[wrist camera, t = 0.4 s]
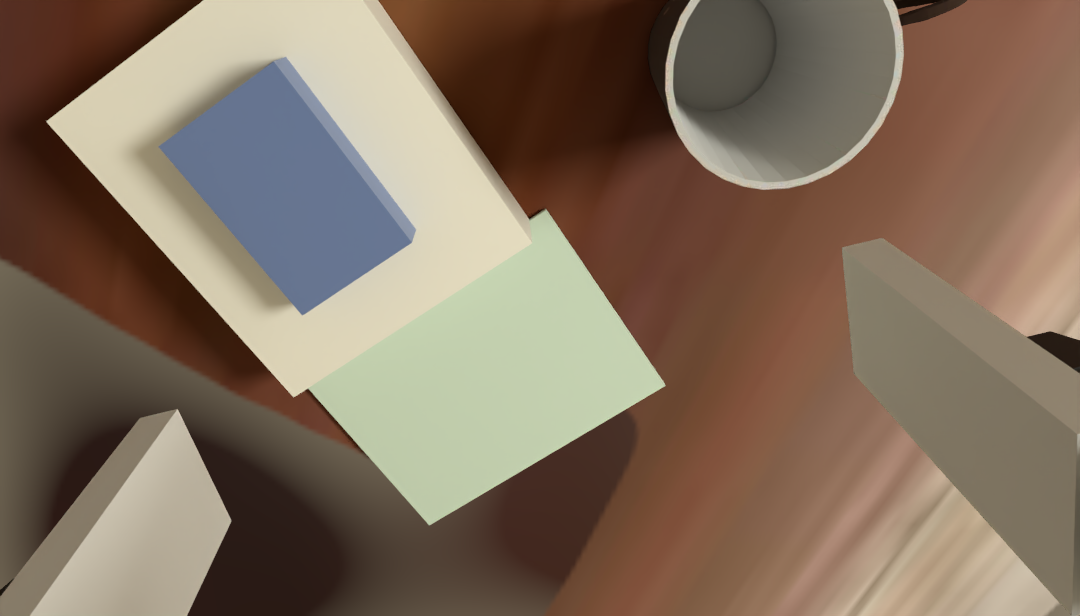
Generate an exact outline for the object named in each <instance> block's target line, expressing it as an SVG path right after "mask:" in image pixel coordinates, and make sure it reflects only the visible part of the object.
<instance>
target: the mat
mask: <svg viewBox="0 0 1080 616" xmlns="http://www.w3.org/2000/svg"><path fill="white" fill-rule="evenodd" d="M529 222H530V229H531V236H532V244H530V245H529V246H527V247H526V248H524V249H522V250H521V251H519V252H518V253H516V254H515V255H513V256H512V257H510V258H509V259H507V260H505V261H504V262H502V263H501V264H499V265H498V266H496V267H495V268H493V269H492V270H490V271H488V272H487V273H485V274H484V275H482V276H481V277H479V278H478V279H476V280H475V281H473V282H471V283H470V284H468V285H467V286H465V287H464V288H462V289H461V290H459V291H458V292H456V293H454V294H453V295H451V296H450V297H448V298H447V299H445V300H444V301H442V302H441V303H439V304H437V305H436V306H434V307H433V308H431V309H430V310H428V311H427V312H425V313H424V314H422V315H420V316H419V317H417V318H416V319H414V320H413V321H411V322H410V323H408V324H406V325H405V326H403V327H402V328H400V329H399V330H397V331H396V332H394V333H393V334H391V335H389V336H388V337H386V338H385V339H383V340H382V341H380V342H379V343H377V344H376V345H374V346H372V347H371V348H369V349H368V350H366V351H365V352H363V353H362V354H360V355H359V356H357V357H355V358H354V359H352V360H351V361H349V362H348V363H346V364H345V365H343V366H342V367H340V368H338V369H337V370H335V371H334V372H332V373H331V374H329V375H328V376H326V377H325V378H323V379H321V380H320V381H318V382H317V383H315V384H314V385H312V386H311V387H309V388H308V389H309V390H310V391H311V392H312V393H313V395H314V396H315V397H316V398H317V399H318V400H319V401H320V402H321V404H322V405H323V406H324V407H325V408H326V409H327V410H328V411H329V413H330V414H331V415H332V416H333V417H334V418H335V419H336V421H337V422H338V423H339V424H340V425H341V426H342V427H343V428H344V430H345V431H346V432H347V433H348V434H349V435H350V436H351V437H352V439H353V440H354V441H355V442H356V443H357V444H358V445H359V447H360V448H361V449H362V450H363V451H364V452H365V453H366V454H367V456H368V457H369V458H370V459H371V460H372V461H373V462H374V463H375V465H376V466H377V467H378V468H379V469H380V470H381V471H382V473H383V474H384V475H385V476H386V477H387V478H388V479H389V480H390V481H391V483H392V484H393V485H394V486H395V487H396V488H397V489H398V491H399V492H400V493H401V494H402V495H403V496H404V497H405V499H407V501H408V502H409V503H410V504H411V505H412V506H413V508H415V510H416V511H417V512H418V513H419V514H420V515H421V517H422V518H423V519H424V520H425V521H426V522H427V523H428V525H431V524H432V523H434V522H436V521H438V520H439V519H441V518H442V517H444V516H446V515H447V514H449V513H451V512H453V511H454V510H456V509H458V508H459V507H461V506H463V505H465V504H466V503H468V502H470V501H471V500H473V499H475V498H476V497H478V496H480V495H481V494H483V493H485V492H487V491H488V490H490V489H492V488H493V487H495V486H497V485H498V484H500V483H502V482H503V481H505V480H507V479H509V478H510V477H512V476H514V475H515V474H517V473H519V472H520V471H522V470H524V469H525V468H527V467H529V466H531V465H532V464H534V463H536V462H537V461H539V460H541V459H542V458H544V457H546V456H547V455H549V454H551V453H553V452H554V451H556V450H557V449H559V448H561V447H563V446H564V445H566V444H567V443H569V442H571V441H573V440H574V439H576V438H578V437H579V436H581V435H583V434H585V433H586V432H588V431H590V430H591V429H593V428H595V427H596V426H598V425H600V424H601V423H603V422H605V421H607V420H608V419H610V418H612V417H613V416H615V415H617V414H618V413H620V412H622V411H624V410H625V409H627V408H629V407H630V406H632V405H634V404H635V403H637V402H639V401H640V400H642V399H644V398H646V397H647V396H649V395H651V394H652V393H654V392H656V391H657V390H659V389H661V388H662V387H664V386H665V384H664V382H663V381H662V379H661V378H660V376H659V375H658V373H657V372H656V370H655V369H654V367H653V366H652V364H651V363H650V361H649V360H648V358H647V357H646V355H645V354H644V353H643V351H642V350H641V348H640V347H639V345H638V344H637V342H636V341H635V339H634V338H633V336H632V335H631V333H630V332H629V330H628V329H627V327H626V326H625V325H624V323H623V322H622V320H621V319H620V317H619V316H618V314H617V313H616V311H615V310H614V308H613V307H612V305H611V304H610V302H609V301H608V299H607V298H606V297H605V295H604V294H603V292H602V291H601V289H600V288H599V286H598V285H597V283H596V282H595V280H594V279H593V277H592V276H591V274H590V273H589V271H588V270H587V269H586V267H585V266H584V264H583V263H582V261H581V260H580V258H579V257H578V255H577V254H576V252H575V251H574V249H573V248H572V246H571V245H570V243H569V242H568V241H567V239H566V238H565V236H564V235H563V233H562V232H561V230H560V229H559V227H558V226H557V224H556V223H555V221H554V220H553V218H552V217H551V215H550V214H549V213H548V211H547V210H546V209H544V210H543V211H541V212H540V213H538V214H536V215H535V216H533V217H532V218H530V219H529Z"/></svg>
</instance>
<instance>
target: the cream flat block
mask: <svg viewBox="0 0 1080 616" xmlns="http://www.w3.org/2000/svg"><path fill="white" fill-rule="evenodd" d="M284 57H287V59H288V60H289V61H290V63H291V64H292V65H293V67H294V68H295V69H296V71H297V72H298V73H299V75H300V76H301V77H302V79H303V80H304V81H305V83H306V84H307V85H308V87H309V88H310V89H311V91H312V92H313V93H314V95H315V96H316V97H317V99H318V100H319V101H320V103H321V104H322V105H323V107H324V108H325V109H326V111H327V112H328V113H329V115H330V116H331V117H332V118H333V120H334V121H335V122H336V124H337V125H338V126H339V128H340V129H341V130H342V132H343V133H344V134H345V136H346V137H347V138H348V140H349V141H350V142H351V144H352V145H353V146H354V148H355V149H356V150H357V152H358V153H359V154H360V156H361V157H362V158H363V160H364V161H365V162H366V164H367V165H368V166H369V168H370V169H371V170H372V172H373V173H374V174H375V176H376V177H377V178H378V180H379V181H380V182H381V183H382V185H383V186H384V187H385V189H386V190H387V191H388V193H389V194H390V195H391V197H392V198H393V199H394V201H395V202H396V203H397V205H398V206H399V207H400V209H401V210H402V211H403V213H404V214H405V215H406V217H407V218H408V219H409V221H410V222H411V223H412V225H413V226H414V227H415V229H416V232H415V235H414V238H413V241H412V243H411V244H409V245H408V246H406V247H405V248H403V249H402V250H400V251H399V252H397V253H396V254H394V255H393V256H391V257H390V258H388V259H387V260H385V261H384V262H382V263H381V264H379V265H378V266H376V267H375V268H373V269H372V270H370V271H369V272H367V273H366V274H364V275H363V276H361V277H360V278H358V279H357V280H355V281H354V282H352V283H351V284H349V285H348V286H346V287H345V288H343V289H342V290H340V291H339V292H337V293H336V294H334V295H333V296H331V297H330V298H328V299H327V300H325V301H324V302H322V303H321V304H319V305H318V306H316V307H315V308H313V309H312V310H310V311H309V312H307V313H306V314H304V315H303V316H302V315H301V314H300V312H299V311H298V310H297V309H296V308H295V306H294V305H293V304H292V303H291V302H290V301H289V299H288V298H287V297H286V296H285V295H284V294H283V292H282V291H281V290H280V289H279V288H278V287H277V285H276V284H275V283H274V282H273V281H272V280H271V278H270V277H269V276H268V275H267V274H266V272H265V271H264V270H263V269H262V268H261V267H260V265H259V264H258V263H257V262H256V261H255V260H254V258H253V257H252V256H251V255H250V254H249V253H248V251H247V250H246V249H245V248H244V247H243V245H242V244H241V243H240V242H239V241H238V240H237V238H236V237H235V236H234V235H233V234H232V233H231V231H230V230H229V229H228V228H227V227H226V226H225V224H224V223H223V222H222V221H221V220H220V219H219V217H218V216H217V215H216V214H215V213H214V211H213V210H212V209H211V208H210V207H209V206H208V204H207V203H206V202H205V201H204V200H203V199H202V197H201V196H200V195H199V194H198V193H197V192H196V190H195V189H194V188H193V187H192V186H191V184H190V183H189V182H188V181H187V180H186V179H185V177H184V176H183V175H182V174H181V173H180V172H179V170H178V169H177V168H176V167H175V166H174V165H173V163H172V162H171V161H170V160H169V159H168V158H167V156H166V155H165V154H164V153H163V152H162V150H161V149H160V148H159V147H158V146H160V145H161V144H162V143H164V142H165V141H167V140H168V139H169V138H171V137H172V136H173V135H175V134H176V133H177V132H179V131H180V130H181V129H183V128H184V127H185V126H187V125H188V124H190V123H191V122H192V121H194V120H195V119H196V118H198V117H199V116H200V115H202V114H203V113H204V112H206V111H207V110H208V109H210V108H211V107H213V106H214V105H215V104H217V103H218V102H219V101H221V100H222V99H223V98H225V97H226V96H227V95H229V94H230V93H231V92H233V91H234V90H235V89H237V88H238V87H240V86H241V85H242V84H244V83H245V82H246V81H248V80H249V79H250V78H252V77H253V76H254V75H256V74H257V73H258V72H260V71H261V70H263V69H264V68H265V67H267V66H268V65H269V64H271V63H272V62H273V61H276V60H278V59H281V58H284ZM46 122H47V123H48V124H49V125H50V126H51V128H52V129H53V130H54V131H55V132H56V133H57V134H58V135H59V136H60V138H61V139H62V140H63V141H64V142H65V143H66V144H67V145H68V147H69V148H70V149H71V150H72V151H73V152H74V153H75V154H76V155H77V157H78V158H79V159H80V160H81V161H82V162H83V163H84V164H85V165H86V167H87V168H88V169H89V170H90V171H91V172H92V173H93V174H94V175H95V177H96V178H97V179H98V180H99V181H100V182H101V183H102V184H103V186H104V187H105V188H106V189H107V190H108V191H109V192H110V193H111V194H112V196H113V197H114V198H115V199H116V200H117V201H118V202H119V203H120V204H121V206H122V207H123V208H124V209H125V210H126V211H127V212H128V213H129V214H130V216H131V217H132V218H133V219H134V220H135V221H136V222H137V223H138V225H139V226H140V227H141V228H142V229H143V230H144V231H145V232H146V233H147V235H148V236H149V237H150V238H151V239H152V240H153V241H154V242H155V243H156V245H157V246H158V247H159V248H160V249H161V250H162V251H163V252H164V253H165V255H166V256H167V257H168V258H169V259H170V260H171V261H172V262H173V263H174V265H175V266H176V267H177V268H178V269H179V270H180V271H181V272H182V274H183V275H184V276H185V277H186V278H187V279H188V280H189V281H190V282H191V284H192V285H193V286H194V287H195V288H196V289H197V290H198V291H199V292H200V294H201V295H202V296H203V297H204V298H205V299H206V300H207V301H208V302H209V304H210V305H211V306H212V307H213V308H214V309H215V310H216V311H217V313H218V314H219V315H220V316H221V317H222V318H223V319H224V320H225V321H226V323H227V324H228V325H229V326H230V327H231V328H232V329H233V330H234V331H235V333H236V334H237V335H238V336H239V337H240V338H241V339H242V340H243V341H244V343H245V344H246V345H247V346H248V347H249V348H250V349H251V350H252V352H253V353H254V354H255V355H256V356H257V357H258V358H259V359H260V360H261V362H262V363H263V364H264V365H265V366H266V367H267V368H268V369H269V370H270V372H271V373H272V374H273V375H274V376H275V377H276V378H277V379H278V380H279V382H280V383H281V384H282V385H283V386H284V387H285V388H286V389H287V391H288V392H289V393H290V394H291V395H292V396H293V397H295V396H297V395H298V394H300V393H301V392H303V391H304V390H306V389H308V388H309V387H311V386H312V385H314V384H315V383H317V382H318V381H320V380H321V379H323V378H325V377H326V376H328V375H329V374H331V373H332V372H334V371H335V370H337V369H338V368H340V367H342V366H343V365H345V364H346V363H348V362H349V361H351V360H352V359H354V358H355V357H357V356H359V355H360V354H362V353H363V352H365V351H366V350H368V349H369V348H371V347H372V346H374V345H376V344H377V343H379V342H380V341H382V340H383V339H385V338H386V337H388V336H389V335H391V334H393V333H394V332H396V331H397V330H399V329H400V328H402V327H403V326H405V325H406V324H408V323H410V322H411V321H413V320H414V319H416V318H417V317H419V316H420V315H422V314H424V313H425V312H427V311H428V310H430V309H431V308H433V307H434V306H436V305H437V304H439V303H441V302H442V301H444V300H445V299H447V298H448V297H450V296H451V295H453V294H454V293H456V292H458V291H459V290H461V289H462V288H464V287H465V286H467V285H468V284H470V283H471V282H473V281H475V280H476V279H478V278H479V277H481V276H482V275H484V274H485V273H487V272H488V271H490V270H492V269H493V268H495V267H496V266H498V265H499V264H501V263H502V262H504V261H505V260H507V259H509V258H510V257H512V256H513V255H515V254H516V253H518V252H519V251H521V250H522V249H524V248H526V247H527V246H529V245H530V244H532V236H531V229H530V222H529V218H528V217H527V215H526V214H525V212H524V211H523V210H522V208H521V207H520V205H519V204H518V202H517V201H516V199H515V198H514V197H513V195H512V194H511V192H510V191H509V189H508V188H507V186H506V185H505V184H504V182H503V181H502V179H501V178H500V176H499V175H498V173H497V172H496V170H495V169H494V168H493V166H492V165H491V163H490V162H489V160H488V159H487V157H486V156H485V155H484V153H483V152H482V150H481V149H480V147H479V146H478V144H477V143H476V142H475V140H474V139H473V137H472V136H471V134H470V133H469V131H468V130H467V129H466V127H465V126H464V124H463V123H462V121H461V120H460V118H459V117H458V116H457V114H456V113H455V111H454V110H453V108H452V107H451V105H450V104H449V102H448V101H447V100H446V98H445V97H444V95H443V94H442V92H441V91H440V89H439V88H438V87H437V85H436V84H435V82H434V81H433V79H432V78H431V76H430V75H429V74H428V72H427V71H426V69H425V68H424V66H423V65H422V63H421V62H420V61H419V59H418V58H417V56H416V55H415V53H414V52H413V50H412V49H411V47H410V46H409V45H408V43H407V42H406V40H405V39H404V37H403V36H402V34H401V33H400V32H399V30H398V29H397V27H396V26H395V24H394V23H393V21H392V20H391V19H390V17H389V16H388V14H387V13H386V11H385V10H384V8H383V7H382V6H381V4H380V3H379V1H378V0H203V1H202V2H201V3H199V4H198V5H197V6H195V7H194V8H193V9H192V10H190V11H189V12H188V13H186V14H185V15H184V16H182V17H181V18H180V19H179V20H177V21H176V22H175V23H173V24H172V25H171V26H169V27H168V28H167V29H166V30H164V31H163V32H162V33H160V34H159V35H158V36H157V37H155V38H154V39H153V40H151V41H150V42H149V43H147V44H146V45H145V46H144V47H142V48H141V49H140V50H138V51H137V52H136V53H134V54H133V55H132V56H131V57H129V58H128V59H127V60H125V61H124V62H123V63H121V64H120V65H119V66H118V67H116V68H115V69H114V70H112V71H111V72H110V73H108V74H107V75H106V76H105V77H103V78H102V79H101V80H99V81H98V82H97V83H96V84H94V85H93V86H92V87H90V88H89V89H88V90H86V91H85V92H84V93H83V94H81V95H80V96H79V97H77V98H76V99H75V100H73V101H72V102H71V103H70V104H68V105H67V106H66V107H64V108H63V109H62V110H60V111H59V112H58V113H57V114H55V115H54V116H53V117H51V118H50V119H49V120H48V121H46Z"/></svg>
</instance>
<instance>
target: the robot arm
mask: <svg viewBox="0 0 1080 616" xmlns="http://www.w3.org/2000/svg"><path fill="white" fill-rule="evenodd" d="M842 254H843V264H844V275H845V285H846V296H847V306H848V316H849V327H850V337H851V347H852V358H853V368H854V374H855V375H856V377H857V378H858V379H859V380H860V381H861V382H862V383H863V384H864V385H865V387H866V388H867V389H868V390H869V391H870V392H871V393H872V394H873V395H874V397H875V398H876V399H877V400H878V401H879V402H880V403H881V404H882V405H883V407H884V408H885V409H886V410H887V411H888V412H889V413H890V414H891V415H892V417H893V418H894V419H895V420H896V421H897V422H898V423H899V424H900V426H901V427H902V428H903V429H904V430H905V431H906V432H907V433H908V434H909V436H910V437H911V438H912V439H913V440H914V441H915V442H916V443H917V444H918V446H919V447H920V448H921V449H922V450H923V451H924V452H925V453H926V454H927V456H928V457H929V458H930V459H931V460H932V461H933V462H934V463H935V464H936V466H937V467H938V468H939V469H940V470H941V471H942V472H943V473H944V474H945V476H946V477H947V478H948V479H949V480H950V481H951V482H952V483H953V485H954V486H955V487H956V488H957V489H958V490H959V491H960V492H961V493H962V495H963V496H964V497H965V498H966V499H967V500H968V501H969V502H970V503H971V505H972V506H973V507H974V508H975V509H976V510H977V511H978V512H979V513H980V515H981V516H982V517H983V518H984V519H985V520H986V521H987V522H988V523H989V525H990V526H991V527H992V528H993V529H994V530H995V531H996V532H997V533H998V535H999V536H1000V537H1001V538H1002V539H1003V540H1004V541H1005V542H1006V544H1007V545H1008V546H1009V547H1010V548H1011V549H1012V550H1013V551H1014V552H1015V554H1016V555H1017V556H1018V557H1019V558H1020V559H1021V560H1022V561H1023V562H1024V564H1025V565H1026V566H1027V567H1028V568H1029V569H1030V570H1031V571H1032V572H1033V574H1034V575H1035V576H1036V577H1037V578H1038V579H1039V580H1040V581H1041V582H1042V584H1043V585H1044V586H1045V587H1046V588H1047V589H1048V590H1049V591H1050V592H1051V594H1052V595H1053V596H1054V597H1055V598H1056V599H1057V600H1058V601H1059V603H1060V604H1061V605H1062V606H1063V607H1064V608H1065V609H1066V610H1067V611H1068V612H1069V614H1070V615H1071V616H1076V615H1080V340H1077V339H1073V338H1070V337H1067V336H1064V335H1060V334H1057V333H1054V332H1051V331H1050V332H1046V333H1042V334H1037V335H1033V336H1029V337H1026V336H1024V335H1023V334H1021V333H1020V332H1018V331H1017V330H1015V329H1014V328H1013V327H1011V326H1010V325H1008V324H1007V323H1005V322H1004V321H1002V320H1001V319H999V318H998V317H997V316H995V315H994V314H992V313H991V312H989V311H988V310H986V309H985V308H983V307H982V306H981V305H979V304H978V303H976V302H975V301H973V300H972V299H970V298H969V297H967V296H966V295H964V294H963V293H962V292H960V291H959V290H957V289H956V288H954V287H953V286H951V285H950V284H948V283H947V282H946V281H944V280H943V279H941V278H940V277H938V276H937V275H935V274H934V273H932V272H931V271H929V270H928V269H927V268H925V267H924V266H922V265H921V264H919V263H918V262H916V261H915V260H913V259H912V258H911V257H909V256H908V255H906V254H905V253H903V252H902V251H900V250H899V249H897V248H896V247H895V246H893V245H892V244H890V243H889V242H887V241H886V240H884V239H883V238H880V239H876V240H872V241H868V242H863V243H859V244H855V245H851V246H847V247H843V248H842ZM230 523H231V519H230V517H229V515H228V513H227V511H226V509H225V507H224V505H223V502H222V500H221V498H220V496H219V494H218V492H217V490H216V488H215V486H214V484H213V482H212V480H211V478H210V476H209V474H208V471H207V469H206V467H205V465H204V463H203V461H202V459H201V457H200V455H199V453H198V451H197V449H196V446H195V444H194V442H193V440H192V439H191V436H190V434H189V432H188V430H187V428H186V426H185V424H184V422H183V420H182V417H181V415H180V413H179V411H178V409H176V410H172V411H168V412H164V413H159V414H155V415H151V416H147V417H143V418H140V419H139V420H138V421H137V423H136V424H135V425H134V427H133V428H132V429H131V430H130V432H129V433H128V434H127V435H126V437H125V438H124V439H123V441H122V442H121V443H120V444H119V446H118V447H117V448H116V450H115V451H114V452H113V453H112V455H111V456H110V457H109V458H108V460H107V461H106V462H105V464H104V465H103V466H102V467H101V469H100V470H99V471H98V473H97V474H96V475H95V476H94V478H93V479H92V480H91V482H90V483H89V484H88V485H87V487H86V488H85V489H84V491H83V492H82V493H81V494H80V496H79V497H78V498H77V499H76V501H75V502H74V503H73V504H72V506H71V507H70V508H69V510H68V511H67V512H66V514H65V515H64V516H63V517H62V519H61V520H60V521H59V522H58V524H57V525H56V526H55V527H54V529H53V530H52V531H51V533H50V534H49V535H48V536H47V538H46V539H45V540H44V542H43V543H42V544H41V545H40V547H39V548H38V549H37V550H36V552H35V553H34V554H33V556H32V557H31V558H30V559H29V561H28V562H27V563H26V565H25V566H24V567H23V568H22V570H21V571H20V572H19V573H18V575H17V576H16V578H14V579H13V580H11V581H10V582H9V583H8V584H7V585H5V586H4V587H3V588H2V589H1V590H0V616H187V614H188V612H189V610H190V608H191V606H192V603H193V601H194V599H195V597H196V595H197V593H198V591H199V588H200V586H201V584H202V582H203V580H204V578H205V576H206V574H207V572H208V569H209V567H210V565H211V563H212V561H213V559H214V557H215V555H216V552H217V550H218V548H219V546H220V544H221V542H222V540H223V538H224V535H225V533H226V531H227V529H228V527H229V525H230Z"/></svg>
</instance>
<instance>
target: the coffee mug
mask: <svg viewBox="0 0 1080 616" xmlns="http://www.w3.org/2000/svg"><path fill="white" fill-rule="evenodd" d="M966 1H967V0H669V1H668V2H667V3H666V4H665V5H664V7H663V8H662V10H661V11H660V13H659V15H658V16H657V18H656V20H655V23H654V25H653V28H652V30H651V34H650V39H649V44H648V62H649V68H650V73H651V75H652V78H653V81H654V83H655V86H656V88H657V90H658V92H659V94H660V97H661V99H662V101H663V103H664V105H665V108H666V110H667V112H668V114H669V116H670V119H671V121H672V123H673V125H674V127H675V130H676V132H677V134H678V135H679V137H680V139H681V140H682V142H683V143H684V145H685V146H686V148H687V149H688V151H689V152H690V153H691V154H692V155H693V156H694V157H695V158H696V159H697V160H698V161H699V162H700V163H701V164H702V165H703V166H704V167H705V168H706V169H708V170H709V171H711V172H713V173H714V174H716V175H717V176H719V177H720V178H722V179H724V180H727V181H729V182H732V183H735V184H737V185H740V186H743V187H749V188H756V189H762V190H771V189H788V188H792V187H796V186H800V185H804V184H808V183H811V182H813V181H815V180H818V179H820V178H822V177H824V176H827V175H829V174H831V173H832V172H834V171H835V170H837V169H838V168H840V167H841V166H843V165H844V164H846V163H847V162H849V161H850V160H851V159H852V158H853V157H854V156H855V155H856V154H857V153H858V152H859V151H860V150H862V149H863V148H864V147H865V146H866V145H867V144H868V142H869V141H870V140H871V138H872V137H873V136H874V134H875V133H876V132H877V130H878V129H879V128H880V126H881V125H882V123H883V122H884V120H885V118H886V116H887V114H888V112H889V110H890V108H891V106H892V104H893V102H894V99H895V96H896V93H897V89H898V86H899V83H900V80H901V74H902V66H903V58H904V46H903V30H902V26H903V25H907V24H911V23H916V22H921V21H924V20H928V19H930V18H933V17H936V16H938V15H940V14H943V13H945V12H948V11H950V10H952V9H954V8H956V7H958V6H960V5H962V4H963V3H965V2H966ZM934 2H936V3H934ZM929 3H933V4H931V5H928V6H925V7H922V8H919V9H916V10H913V11H910V12H907V13H904V14H901V15H898V11H897V9H900V8H905V7H911V6H919V5H924V4H929Z"/></svg>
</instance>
